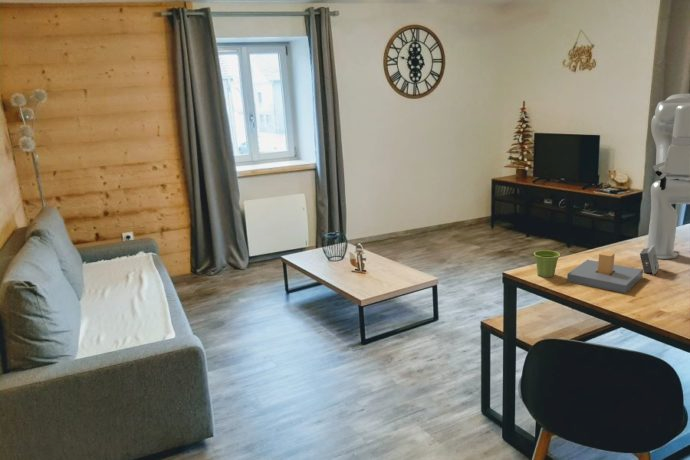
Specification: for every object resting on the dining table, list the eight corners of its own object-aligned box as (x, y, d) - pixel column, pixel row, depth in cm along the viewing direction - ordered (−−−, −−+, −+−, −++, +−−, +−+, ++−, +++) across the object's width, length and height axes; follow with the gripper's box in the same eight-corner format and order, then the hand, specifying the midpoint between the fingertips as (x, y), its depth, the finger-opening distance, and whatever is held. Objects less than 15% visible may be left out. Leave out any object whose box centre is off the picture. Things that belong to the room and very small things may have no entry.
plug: (601, 276, 196) (603, 251, 193) (612, 279, 193) (614, 253, 190) (597, 279, 193) (599, 254, 191) (608, 282, 190) (610, 256, 188)
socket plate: (586, 266, 207) (587, 259, 206) (642, 277, 193) (643, 269, 193) (567, 281, 193) (567, 273, 192) (625, 293, 180) (626, 285, 179)
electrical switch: (655, 275, 194) (655, 251, 193) (639, 274, 198) (639, 250, 196) (659, 268, 201) (659, 245, 200) (644, 267, 205) (644, 244, 203)
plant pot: (532, 278, 198) (533, 256, 196) (533, 270, 207) (534, 249, 204) (558, 280, 195) (560, 258, 192) (558, 271, 203) (559, 250, 201)
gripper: (717, 141, 173) (710, 191, 177) (659, 139, 185) (654, 186, 189) (713, 143, 168) (706, 195, 172) (653, 141, 179) (648, 190, 184)
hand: (678, 190), depth 181 cm, fingers open, 9 cm apart
